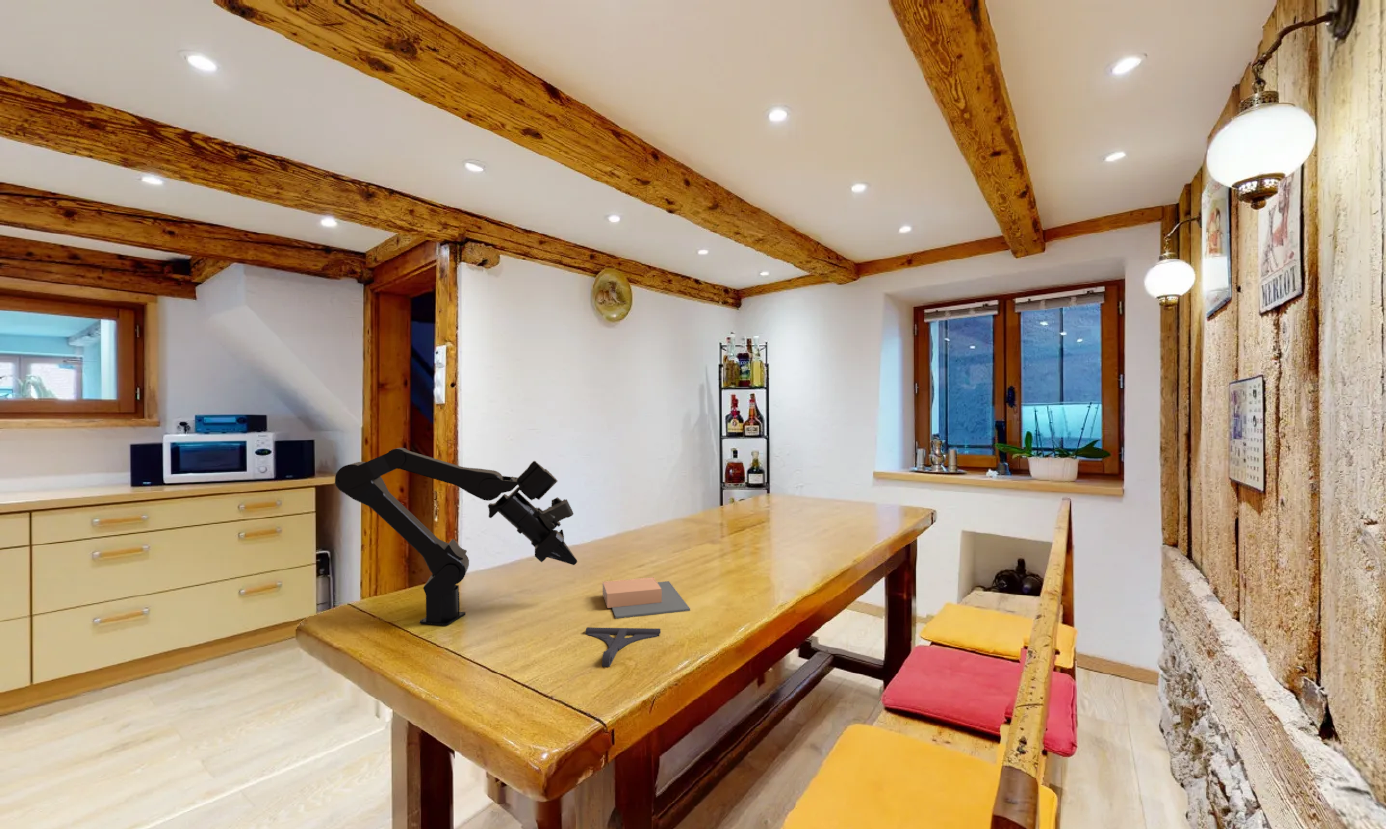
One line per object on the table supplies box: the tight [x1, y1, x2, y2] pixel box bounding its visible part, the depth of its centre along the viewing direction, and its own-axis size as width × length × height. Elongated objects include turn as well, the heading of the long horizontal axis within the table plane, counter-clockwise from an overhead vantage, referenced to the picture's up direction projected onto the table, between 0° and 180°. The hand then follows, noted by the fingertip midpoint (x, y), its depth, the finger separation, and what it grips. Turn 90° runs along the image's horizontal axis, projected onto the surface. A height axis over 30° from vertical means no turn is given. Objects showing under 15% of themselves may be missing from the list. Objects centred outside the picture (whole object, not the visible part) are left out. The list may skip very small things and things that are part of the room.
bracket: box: [585, 626, 661, 668], centre depth 101 cm, size 14×15×3 cm
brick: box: [602, 577, 662, 609], centre depth 126 cm, size 3×9×12 cm
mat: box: [611, 580, 691, 619], centre depth 127 cm, size 16×20×1 cm
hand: (575, 563), depth 122 cm, fingers closed
